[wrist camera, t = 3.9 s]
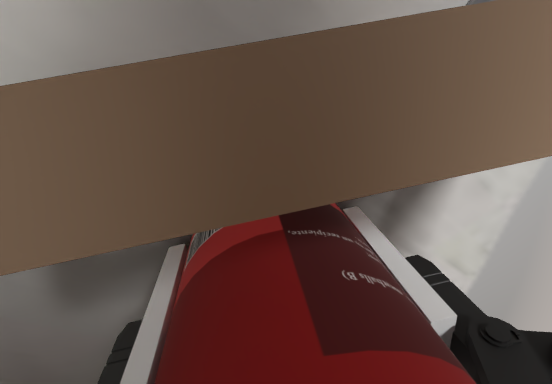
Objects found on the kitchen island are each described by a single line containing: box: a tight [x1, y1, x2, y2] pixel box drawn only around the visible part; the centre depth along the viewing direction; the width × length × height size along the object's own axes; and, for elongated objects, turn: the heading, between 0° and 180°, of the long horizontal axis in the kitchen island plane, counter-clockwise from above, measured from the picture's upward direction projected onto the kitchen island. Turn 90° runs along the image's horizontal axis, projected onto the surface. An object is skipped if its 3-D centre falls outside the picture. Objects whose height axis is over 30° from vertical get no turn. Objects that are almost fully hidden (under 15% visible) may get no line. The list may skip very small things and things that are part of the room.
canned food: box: [154, 203, 477, 384], centre depth 9 cm, size 8×8×11 cm
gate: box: [0, 0, 552, 276], centre depth 6 cm, size 16×2×8 cm, turn 99°
